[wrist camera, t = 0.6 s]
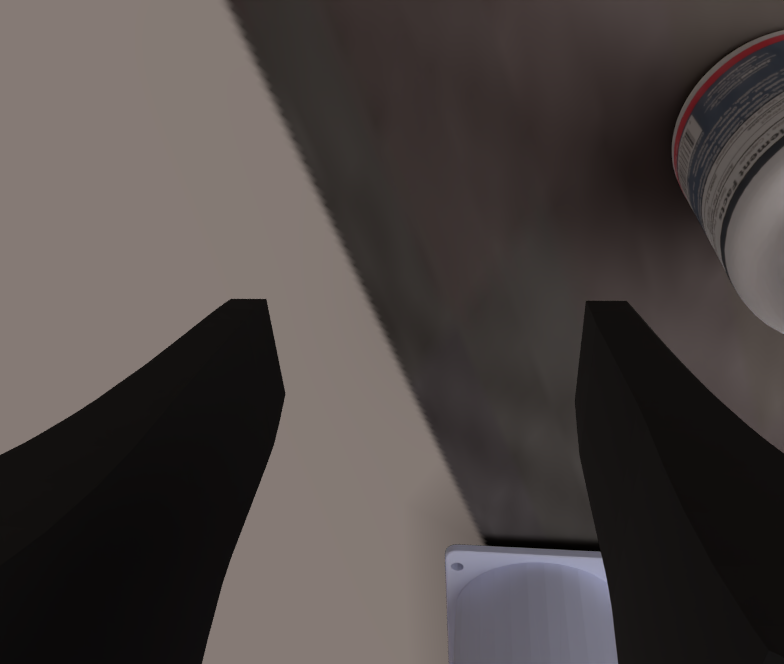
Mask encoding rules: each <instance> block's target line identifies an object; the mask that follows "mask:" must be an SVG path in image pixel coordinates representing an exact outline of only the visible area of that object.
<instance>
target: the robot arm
mask: <svg viewBox="0 0 784 664" xmlns="http://www.w3.org/2000/svg"><path fill="white" fill-rule="evenodd" d="M284 398H285V390H284V385H283V381H282V375H281V370H280V365H279V361H278V356H277V350H276V346H275V340H274V336H273V330H272V325H271V321H270V315H269V310H268V305H267V300H266V299H230V300H229V301H227V302H226V303H224V304H223V305H222V306H220V307H219V308H218V309H216V310H215V311H214V312H212V313H211V314H210V315H208V316H207V317H206V318H205V319H203V320H202V321H201V322H200V323H198V324H197V325H196V326H194V327H193V328H192V329H191V330H189V331H188V332H187V333H186V334H184V335H183V336H182V337H181V338H179V339H178V340H177V341H175V342H174V343H173V344H171V345H170V346H169V347H168V348H166V349H165V350H164V351H162V352H161V353H160V354H159V355H157V356H156V357H155V358H153V359H152V360H151V361H150V362H149V363H147V364H146V365H144V366H143V367H142V368H140V369H139V370H137V371H136V372H135V373H133V374H132V375H130V376H129V377H127V378H126V379H125V380H123V381H122V382H120V383H119V384H117V385H116V386H115V387H113V388H112V389H111V390H109V391H108V392H106V393H105V394H103V395H102V396H101V397H99V398H98V399H97V400H95V401H93V402H92V403H90V404H89V405H87V406H86V407H84V408H83V409H81V410H80V411H78V412H76V413H75V414H73V415H72V416H70V417H68V418H67V419H65V420H63V421H61V422H60V423H58V424H56V425H55V426H53V427H51V428H50V429H48V430H46V431H44V432H43V433H41V434H39V435H38V436H36V437H34V438H32V439H31V440H29V441H27V442H25V443H23V444H21V445H19V446H18V447H15V448H13V449H11V450H9V451H8V452H5V453H4V454H1V455H0V664H202V661H203V656H204V652H205V648H206V644H207V639H208V636H209V632H210V628H211V625H212V621H213V617H214V613H215V610H216V606H217V602H218V598H219V594H220V591H221V587H222V584H223V580H224V577H225V574H226V571H227V568H228V565H229V562H230V559H231V557H232V554H233V551H234V549H235V546H236V543H237V541H238V538H239V535H240V533H241V530H242V528H243V525H244V523H245V520H246V517H247V515H248V512H249V510H250V507H251V504H252V502H253V499H254V497H255V494H256V491H257V489H258V486H259V484H260V481H261V478H262V476H263V473H264V470H265V468H266V465H267V462H268V459H269V457H270V454H271V451H272V449H273V446H274V442H275V438H276V433H277V430H278V426H279V421H280V417H281V412H282V407H283V403H284ZM575 408H576V420H577V432H578V443H579V453H580V459H581V464H582V469H583V473H584V478H585V483H586V487H587V492H588V497H589V501H590V506H591V510H592V515H593V519H594V524H595V528H596V533H597V537H598V542H599V546H600V551H601V552H599V551H579V550H560V549H540V548H520V547H500V546H481V545H460V544H455V545H451V546H449V547H448V548H447V549H446V551H445V570H446V597H447V627H448V654H449V664H784V453H782V452H781V451H780V450H778V449H777V448H776V447H774V446H773V445H772V444H770V443H769V442H768V441H766V440H765V439H764V438H763V437H761V436H760V435H759V434H758V433H757V432H755V431H754V430H753V429H752V428H750V427H749V426H748V425H747V424H746V423H745V422H743V421H742V420H741V419H740V418H739V417H738V416H737V415H736V414H734V413H733V412H732V411H731V410H730V409H729V408H728V407H727V406H726V405H724V404H723V403H722V402H721V401H720V400H719V399H718V398H717V397H715V396H714V395H713V394H712V393H711V392H710V391H709V390H708V389H707V388H706V387H705V386H704V385H703V384H702V383H701V382H700V381H699V380H698V379H697V378H696V377H695V376H694V375H693V374H692V373H691V372H690V370H689V369H688V368H687V367H686V366H685V365H684V364H683V363H682V362H681V361H680V360H679V359H678V358H677V357H676V356H675V355H674V354H673V353H672V352H671V350H670V349H669V348H668V347H667V346H666V345H665V344H664V343H663V342H662V340H661V339H660V338H659V337H658V336H657V335H656V334H655V333H654V331H653V330H652V329H651V328H650V327H649V326H648V324H647V323H646V322H645V321H644V320H643V319H642V318H641V316H640V315H639V314H638V313H637V312H636V311H635V310H634V309H633V307H632V306H631V305H630V304H629V303H628V302H627V301H586V306H585V315H584V324H583V333H582V342H581V350H580V359H579V368H578V377H577V386H576V395H575Z"/></svg>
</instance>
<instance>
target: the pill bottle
mask: <svg viewBox="0 0 784 664" xmlns="http://www.w3.org/2000/svg"><path fill="white" fill-rule="evenodd" d="M672 162H673V168H674V172H675V175H676V178H677V180H678V183H679V185H680V188H681V190H682V192H683V194H684V196H685V197H686V199H687V201H688V203H689V205H690V206H691V208H692V210H693V212H694V214H695V215H696V217H697V219H698V221H699V223H700V225H701V226H702V228H703V230H704V232H705V234H706V236H707V237H708V239H709V241H710V243H711V245H712V247H713V248H714V250H715V252H716V254H717V256H718V258H719V260H720V262H721V264H722V266H723V268H724V270H725V271H726V273H727V275H728V277H729V280H730V282H731V283H732V285H733V286H734V288H735V290H736V291H737V293H738V295H739V296H740V298H741V299H742V300H743V302H744V303H745V305H746V306H747V307H748V308H749V309H750V310H751V311H752V312H753V313H754V314H755V315H756V316H757V317H758V318H759V319H760V320H761V321H763V322H764V323H765V324H767V325H768V326H770V327H772V328H773V329H775V330H777V331H779V332H781V333H782V334H784V30H782V31H778V32H774V33H771V34H767V35H765V36H762V37H759V38H757V39H755V40H752V41H750V42H748V43H746V44H744V45H743V46H741V47H739V48H737V49H736V50H734V51H733V52H731V53H730V54H728V55H727V56H725V57H724V58H723V59H722V60H720V61H719V62H718V63H717V64H716V65H715V66H713V67H712V68H711V69H710V70H709V71H708V72H707V73H706V74H705V75H704V76H703V77H702V79H701V80H700V81H699V82H698V83H697V85H696V86H695V87H694V89H693V90H692V92H691V93H690V95H689V96H688V98H687V100H686V101H685V103H684V105H683V107H682V109H681V111H680V114H679V116H678V119H677V122H676V125H675V129H674V134H673V139H672Z"/></svg>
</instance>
